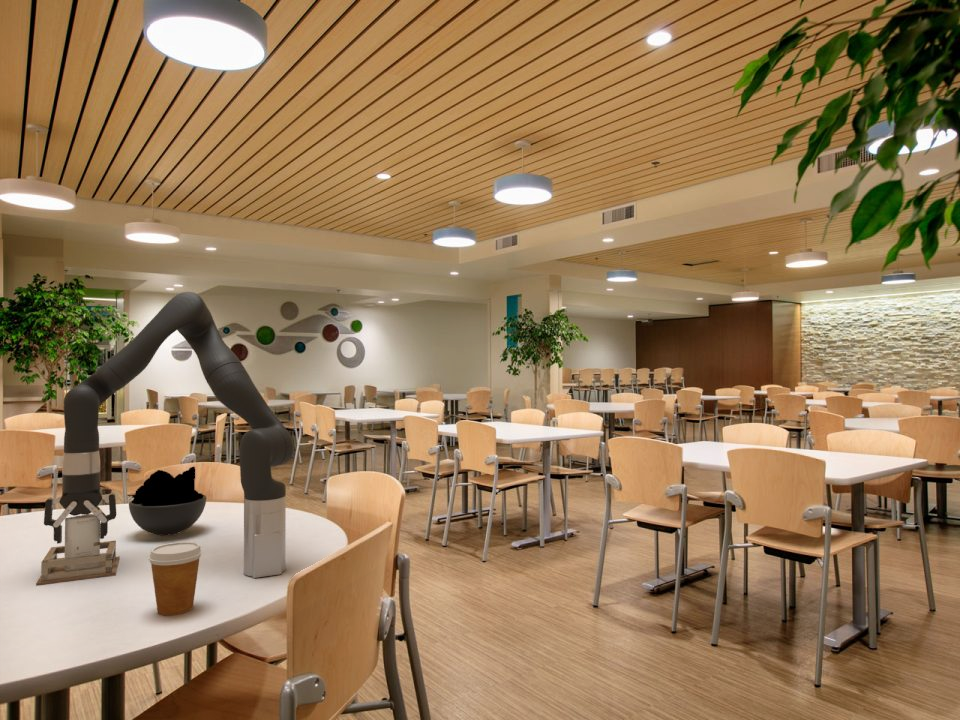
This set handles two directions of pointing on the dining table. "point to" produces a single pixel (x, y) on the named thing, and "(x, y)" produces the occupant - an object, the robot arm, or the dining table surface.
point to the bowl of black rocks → (167, 503)
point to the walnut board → (81, 576)
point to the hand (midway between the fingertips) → (80, 540)
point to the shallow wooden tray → (53, 561)
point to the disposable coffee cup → (175, 576)
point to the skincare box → (82, 539)
